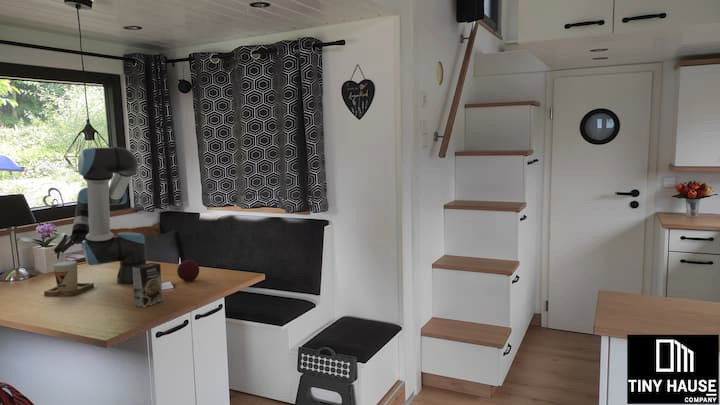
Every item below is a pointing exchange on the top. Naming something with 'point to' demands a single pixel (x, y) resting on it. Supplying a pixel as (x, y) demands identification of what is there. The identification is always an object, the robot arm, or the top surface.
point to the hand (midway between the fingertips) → (75, 263)
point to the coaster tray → (80, 289)
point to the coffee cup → (66, 275)
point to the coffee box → (147, 284)
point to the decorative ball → (188, 270)
